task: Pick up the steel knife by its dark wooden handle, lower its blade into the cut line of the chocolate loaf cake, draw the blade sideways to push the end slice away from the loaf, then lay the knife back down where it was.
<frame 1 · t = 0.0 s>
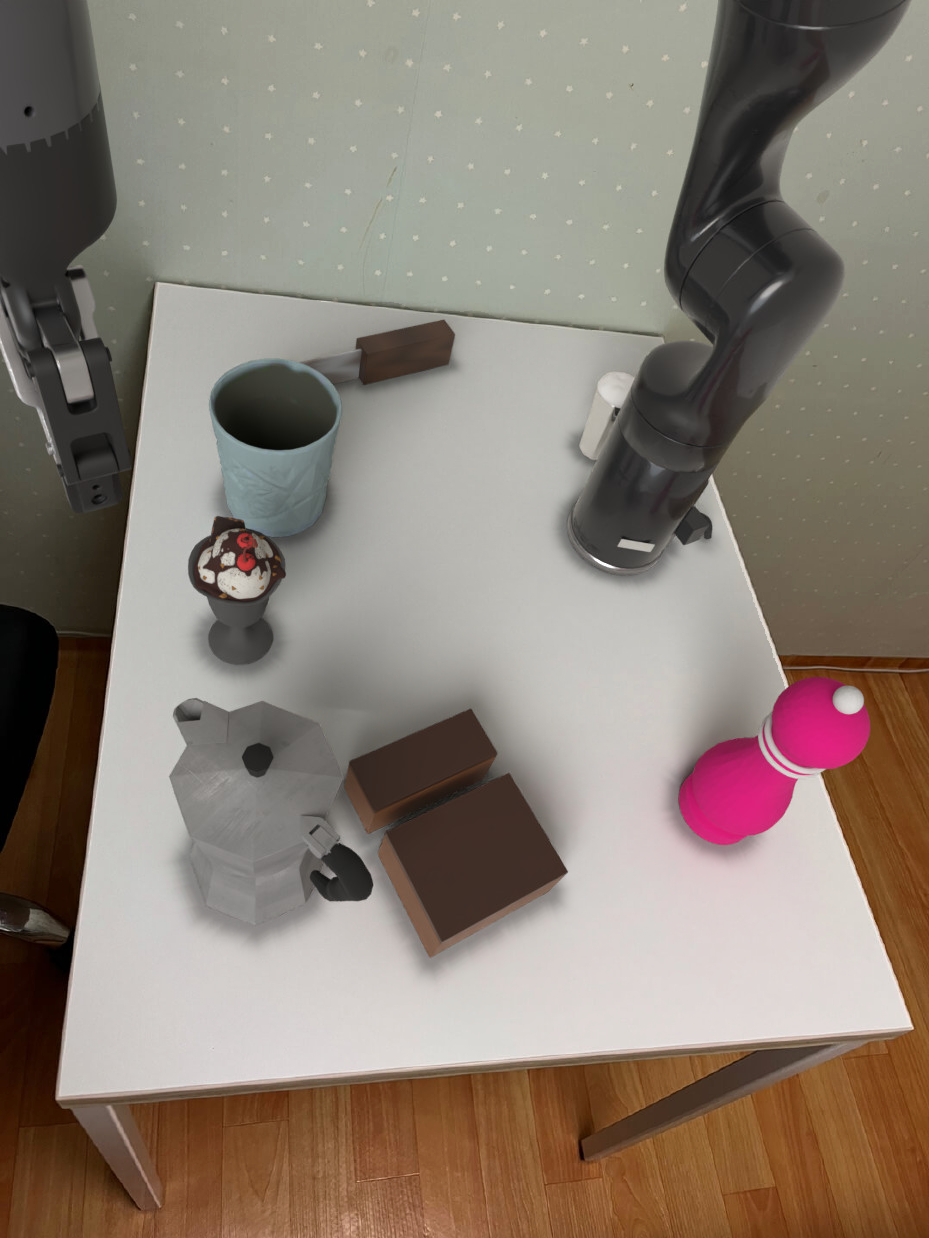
hand: (67, 436, 40), 29 cm above the table, tool pointing down, fingers open, 8 cm apart
coffeepot: (269, 869, 60), on the table
sundae: (241, 639, 69), on the table
blue ceramic cup: (275, 503, 77), on the table
knife: (401, 367, 89), on the table
cake slice: (415, 782, 66), on the table
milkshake: (597, 451, 89), on the table
cake: (463, 872, 63), on the table
pepper mill: (713, 808, 70), on the table
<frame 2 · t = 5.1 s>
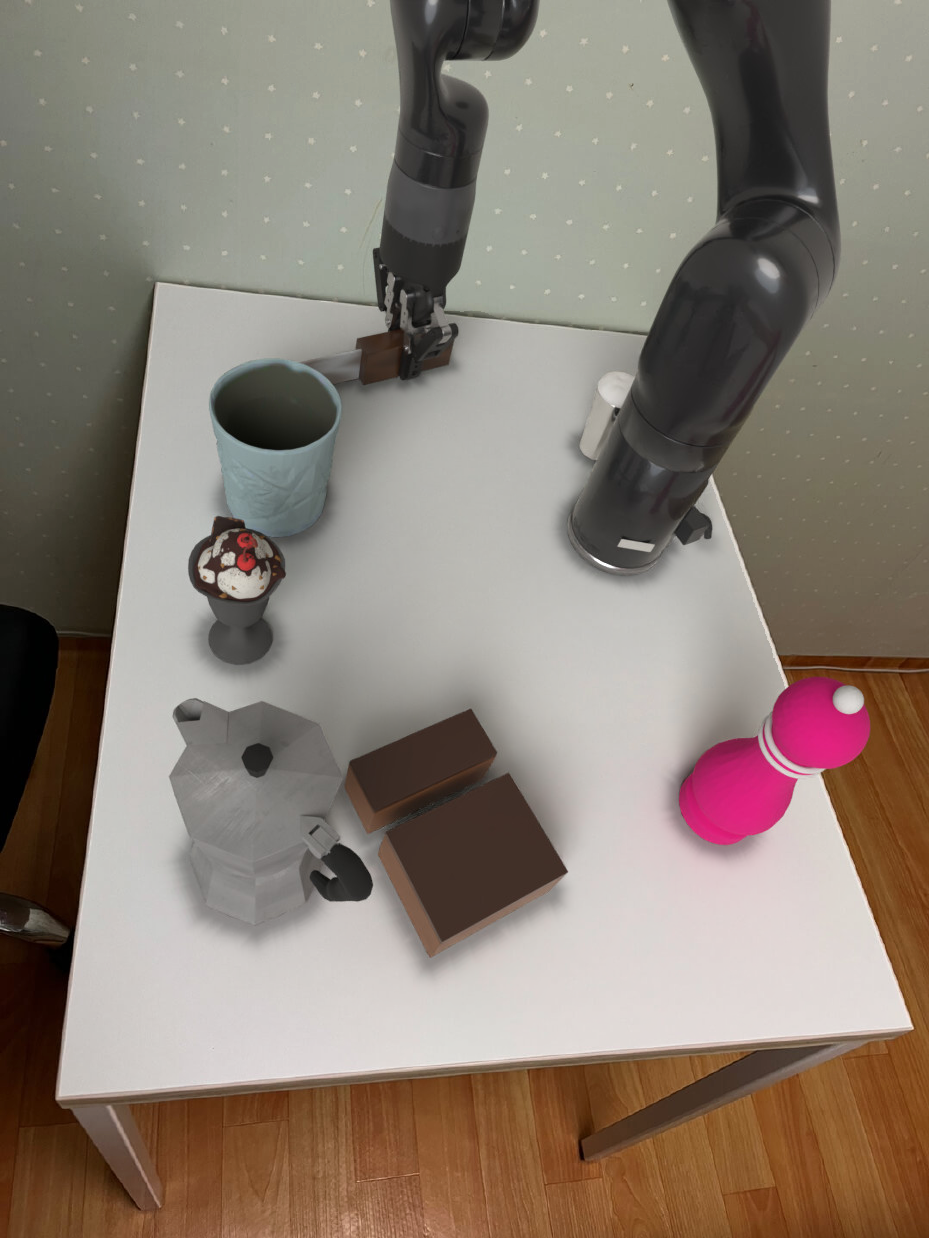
hand: (401, 366, 89), 0 cm above the table, tool pointing down, fingers closed on knife, 2 cm apart
knife: (401, 367, 89), on the table, touching gripper
everything else where it was.
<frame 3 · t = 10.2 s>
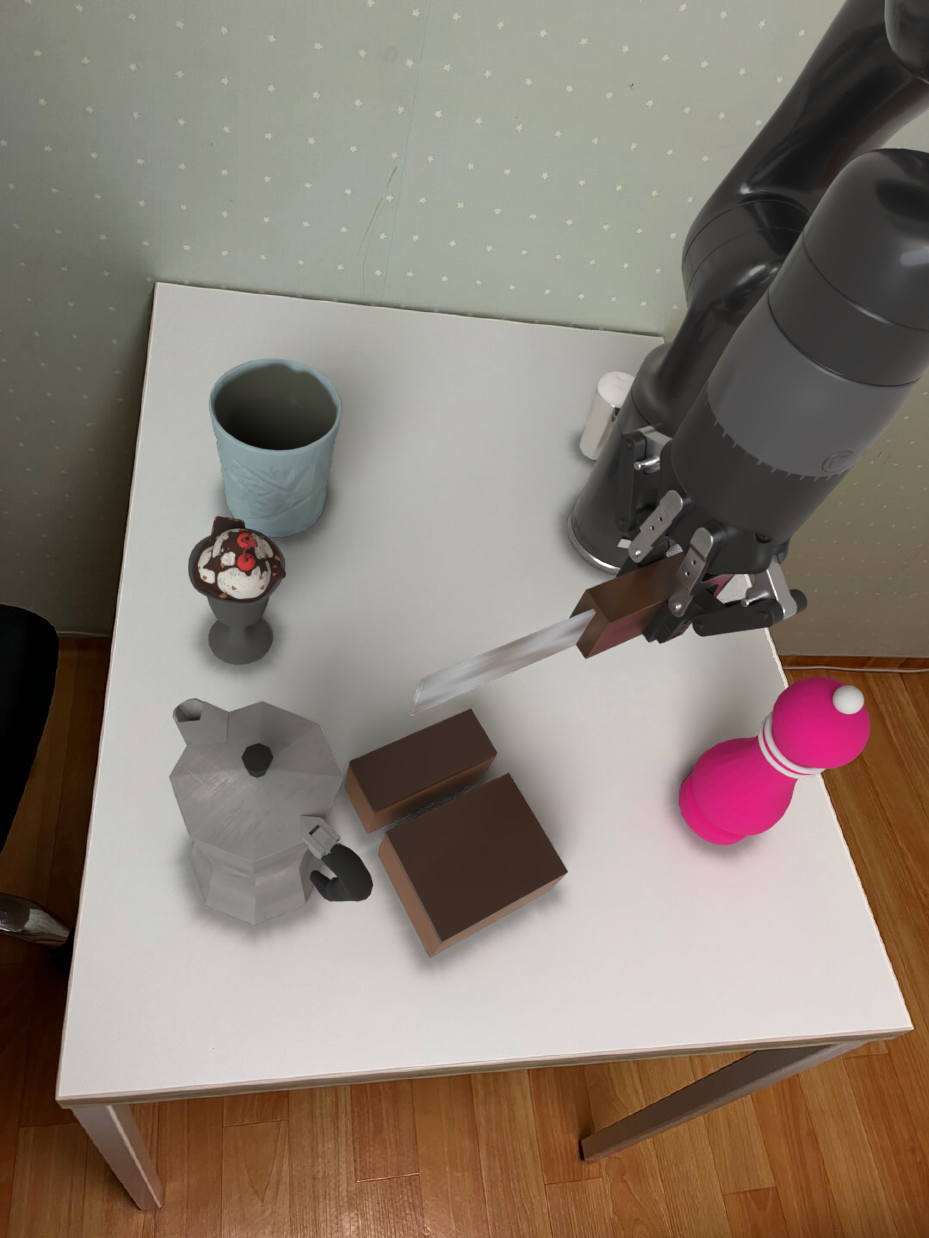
hand: (642, 613, 52), 20 cm above the table, tool pointing down, fingers closed on knife, 2 cm apart
knife: (639, 615, 52), point 20 cm above the table, touching gripper
everything else where it was.
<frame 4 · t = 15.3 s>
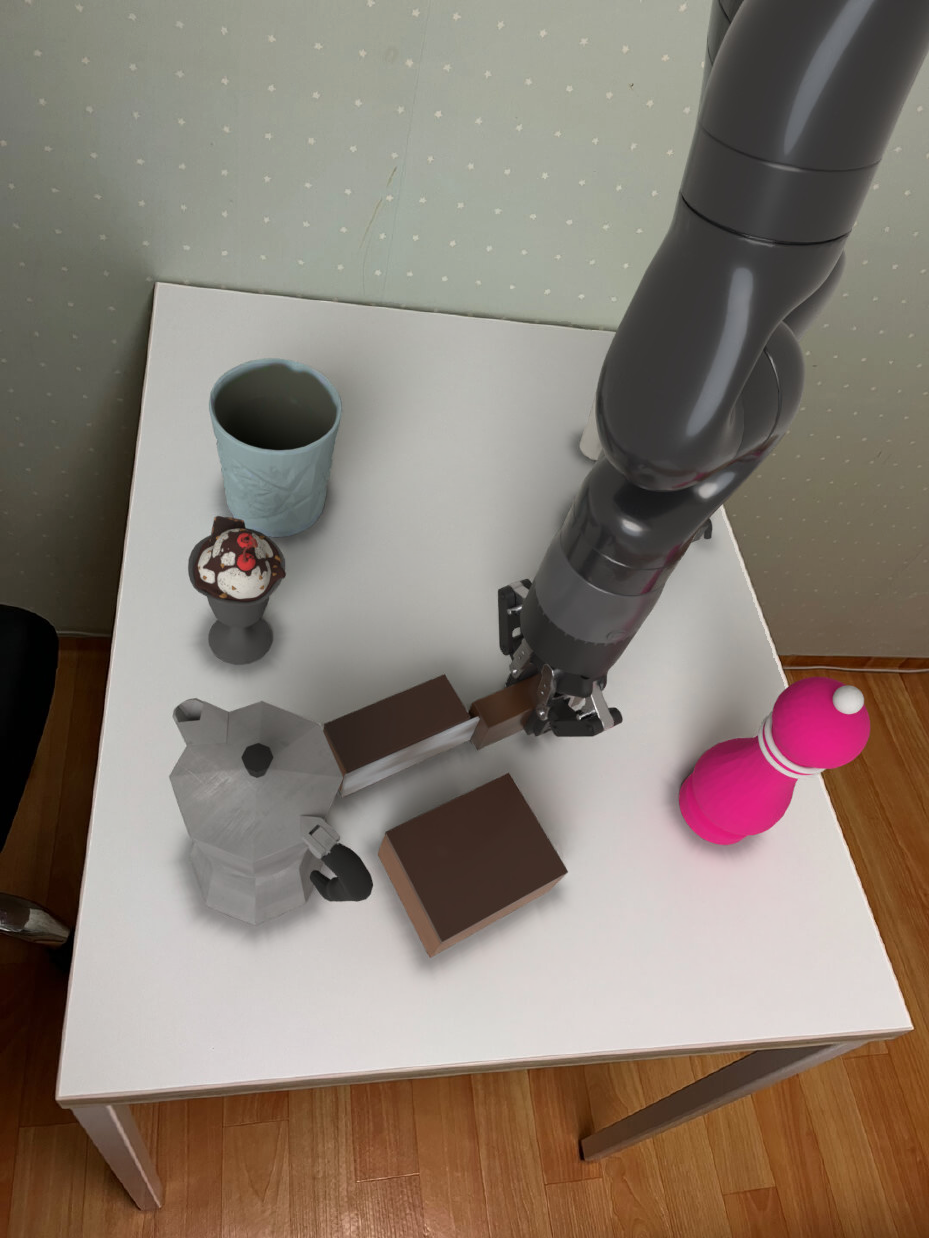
hand: (525, 711, 69), 1 cm above the table, tool pointing down, fingers closed on knife, 2 cm apart
knife: (521, 714, 69), point 1 cm above the table, touching cake slice, gripper
cake slice: (390, 748, 67), on the table, touching knife
everything else where it was.
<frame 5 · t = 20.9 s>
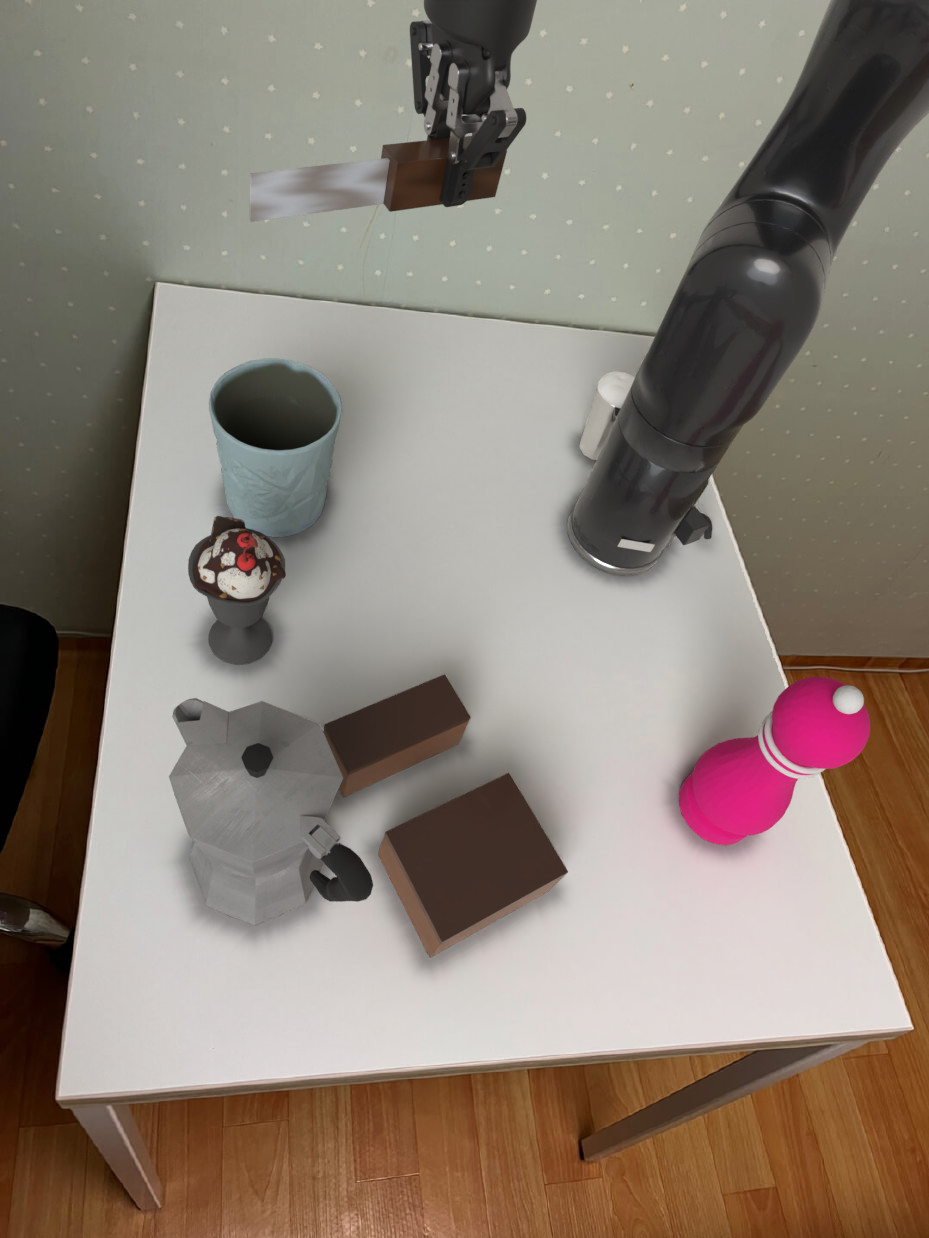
hand: (443, 191, 70), 21 cm above the table, tool pointing down, fingers closed on knife, 2 cm apart
knife: (436, 195, 70), point 21 cm above the table, touching gripper
cake slice: (390, 748, 67), on the table
everything else where it was.
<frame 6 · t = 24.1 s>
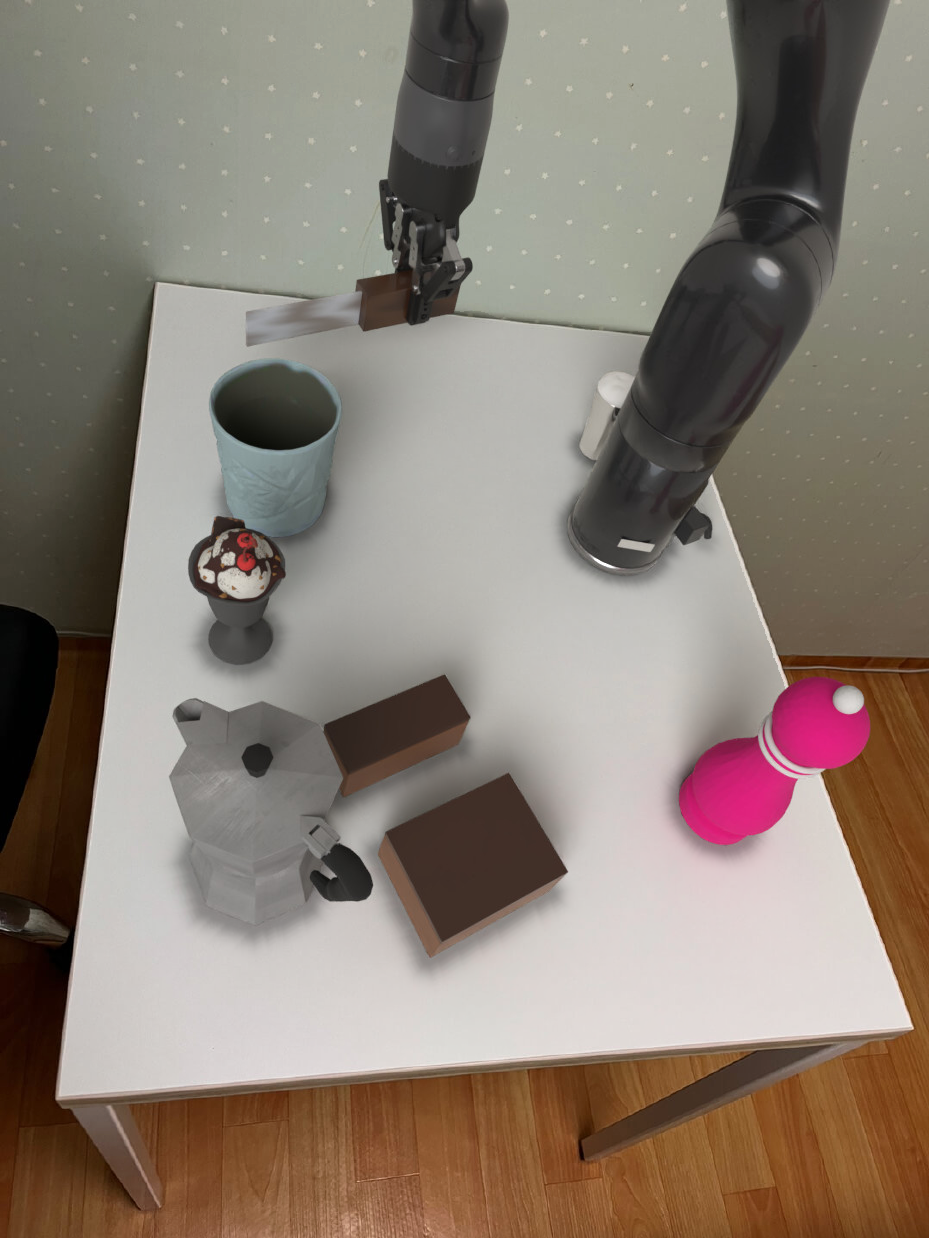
hand: (409, 311, 84), 7 cm above the table, tool pointing down, fingers closed on knife, 2 cm apart
knife: (404, 314, 84), point 7 cm above the table, touching gripper
everything else where it was.
when the fingers open (0 cm above the table, at t = 25.9 s): knife stays where it is, on the table.
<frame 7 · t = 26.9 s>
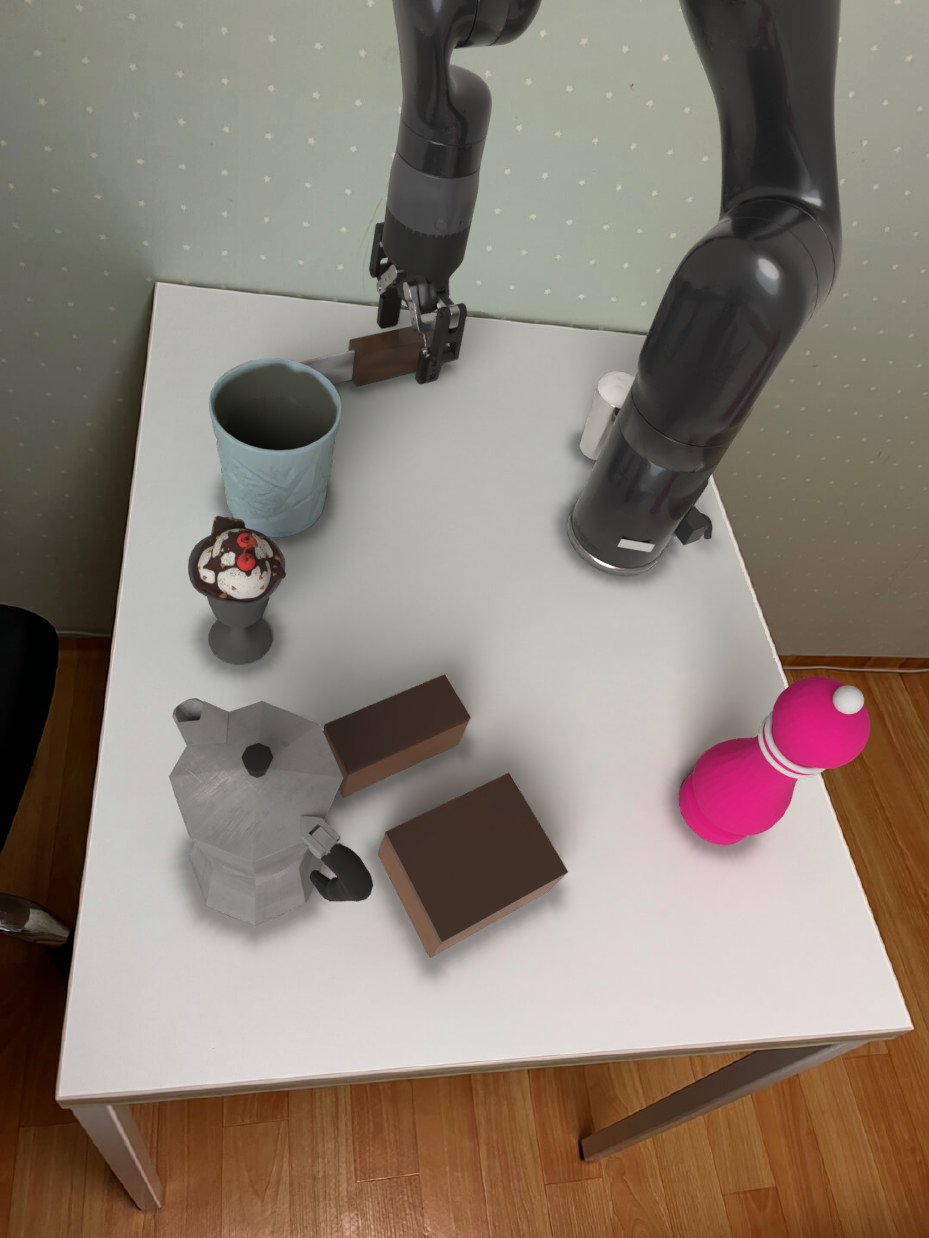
hand: (405, 352, 88), 2 cm above the table, tool pointing down, fingers open, 8 cm apart
knife: (395, 368, 89), on the table
everything else where it was.
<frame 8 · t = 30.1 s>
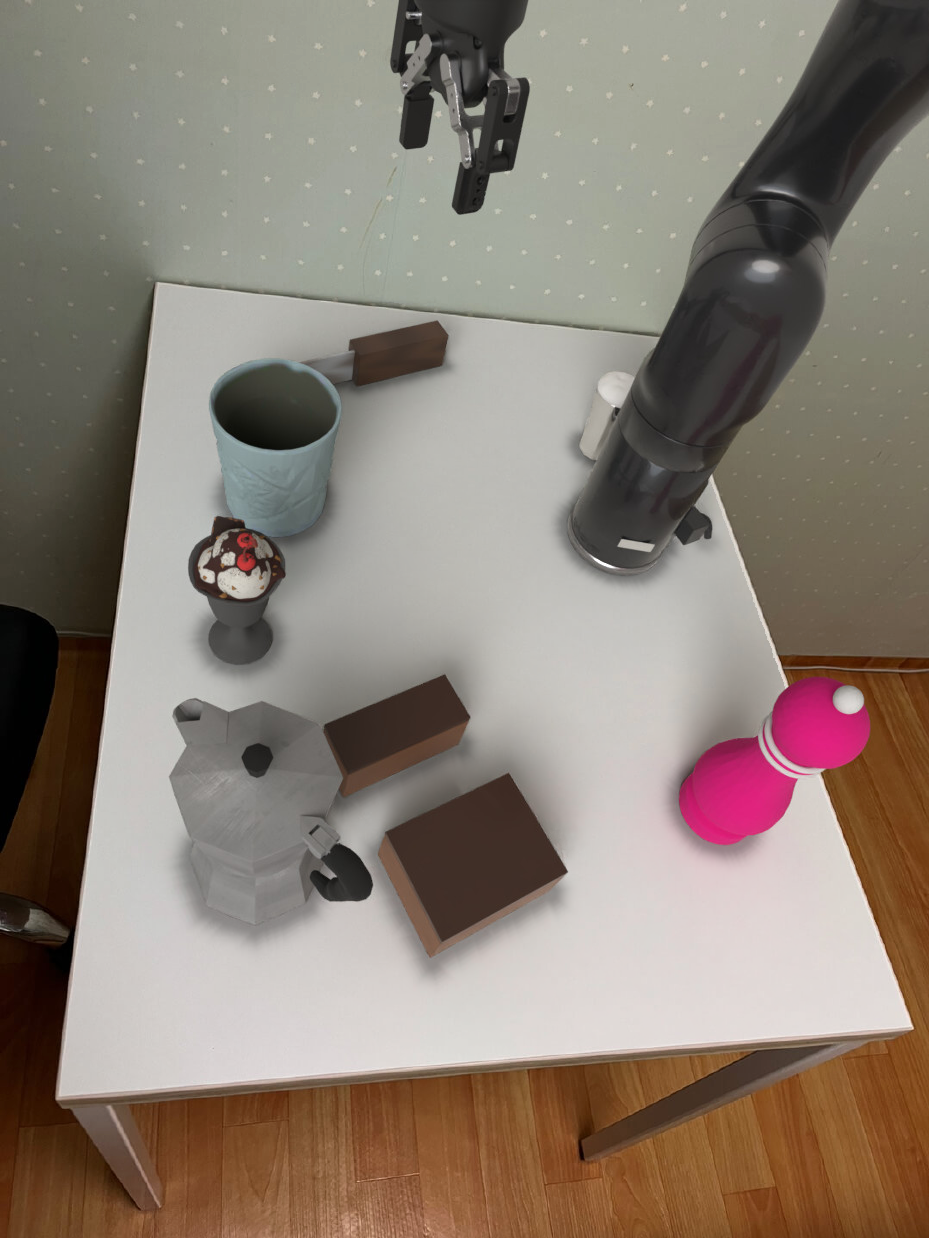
hand: (438, 177, 66), 24 cm above the table, tool pointing down, fingers open, 8 cm apart
nothing on the table moved.
at the end: cake slice 1.6 cm from the target spot, on the table; cake slice tilted 0°; knife inside the target area (0.7 cm from its centre), on the table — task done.
